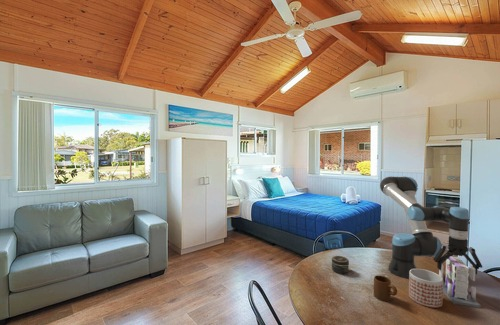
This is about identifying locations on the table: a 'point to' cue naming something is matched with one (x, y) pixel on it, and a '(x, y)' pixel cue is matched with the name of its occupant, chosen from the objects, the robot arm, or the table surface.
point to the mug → (383, 288)
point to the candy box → (457, 277)
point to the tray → (469, 302)
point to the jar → (340, 264)
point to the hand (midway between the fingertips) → (456, 277)
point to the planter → (426, 288)
